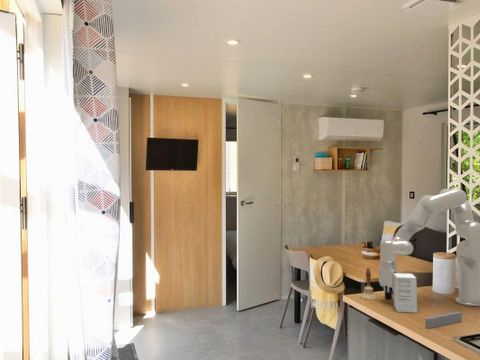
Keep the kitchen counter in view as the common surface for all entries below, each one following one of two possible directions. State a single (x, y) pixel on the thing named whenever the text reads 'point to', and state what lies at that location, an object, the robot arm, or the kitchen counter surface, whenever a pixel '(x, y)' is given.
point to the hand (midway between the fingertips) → (388, 299)
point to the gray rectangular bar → (443, 319)
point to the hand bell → (368, 288)
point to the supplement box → (405, 292)
